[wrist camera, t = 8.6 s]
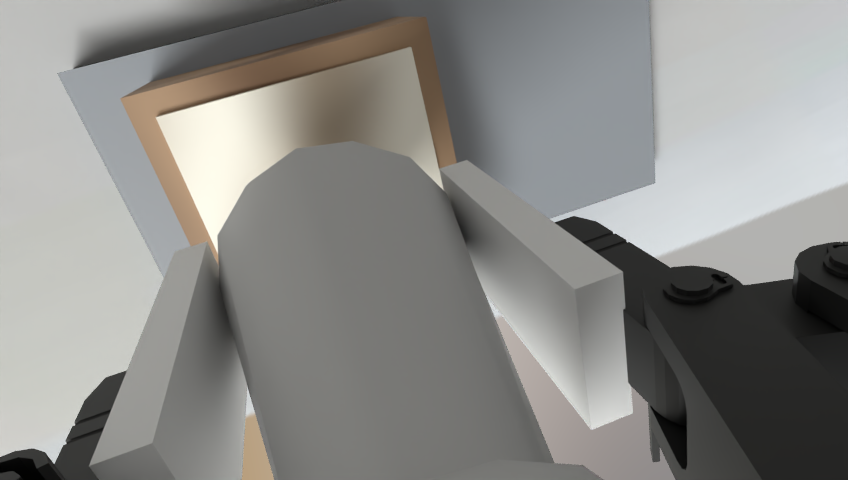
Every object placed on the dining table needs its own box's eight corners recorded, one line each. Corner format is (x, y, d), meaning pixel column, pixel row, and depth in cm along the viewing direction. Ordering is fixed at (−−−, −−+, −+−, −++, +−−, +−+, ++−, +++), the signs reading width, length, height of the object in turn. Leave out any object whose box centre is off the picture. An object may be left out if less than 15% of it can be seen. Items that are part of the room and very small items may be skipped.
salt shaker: (177, 238, 14) (-296, 1398, 2) (324, 74, 13) (725, 484, 2) (343, 349, 16) (523, 1145, 5) (472, 216, 16) (1024, 758, 4)
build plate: (623, -72, 22) (646, -78, 20) (635, 174, 27) (655, 182, 25) (72, 69, 19) (57, 73, 17) (199, 320, 23) (195, 338, 22)
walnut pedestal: (397, 16, 19) (428, 16, 16) (447, 231, 23) (481, 272, 20) (149, 82, 18) (118, 99, 14) (246, 298, 22) (241, 356, 18)
